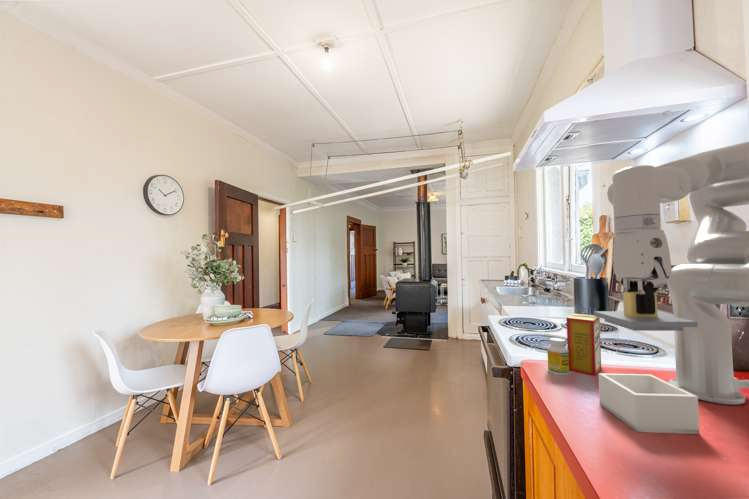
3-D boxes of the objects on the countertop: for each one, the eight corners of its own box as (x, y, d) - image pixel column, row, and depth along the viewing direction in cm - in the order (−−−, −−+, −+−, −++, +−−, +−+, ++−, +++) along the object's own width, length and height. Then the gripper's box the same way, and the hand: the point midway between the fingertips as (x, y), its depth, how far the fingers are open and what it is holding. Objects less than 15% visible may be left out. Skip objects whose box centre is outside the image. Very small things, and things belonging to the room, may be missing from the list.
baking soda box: (595, 376, 84) (593, 319, 85) (568, 370, 89) (566, 316, 90) (601, 367, 91) (599, 314, 92) (576, 362, 96) (574, 312, 96)
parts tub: (651, 405, 68) (650, 374, 68) (699, 434, 57) (697, 396, 57) (599, 404, 69) (598, 373, 69) (636, 431, 58) (635, 394, 58)
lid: (648, 319, 68) (647, 289, 69) (697, 332, 57) (695, 295, 57) (594, 320, 70) (592, 289, 70) (631, 332, 58) (630, 296, 58)
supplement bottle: (553, 367, 92) (552, 335, 92) (572, 373, 87) (571, 339, 88) (544, 371, 89) (543, 338, 89) (563, 377, 84) (562, 342, 85)
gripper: (691, 220, 56) (696, 320, 55) (627, 228, 72) (631, 306, 71) (647, 221, 56) (652, 320, 56) (594, 229, 72) (597, 306, 72)
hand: (640, 311), depth 63 cm, fingers closed on lid
